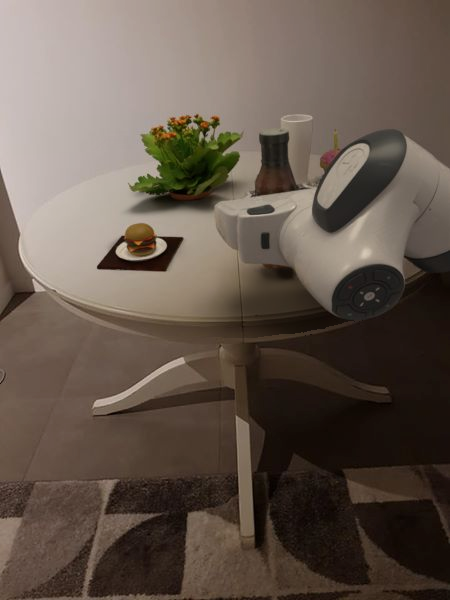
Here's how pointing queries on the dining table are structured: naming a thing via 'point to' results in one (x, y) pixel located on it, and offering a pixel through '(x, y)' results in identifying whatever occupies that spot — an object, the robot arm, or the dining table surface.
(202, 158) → the potted flower
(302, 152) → the drinking glass
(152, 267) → the hamburger
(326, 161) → the cupcake
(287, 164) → the sauce bottle
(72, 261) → the dining table surface
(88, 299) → the dining table surface
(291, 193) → the robot arm
